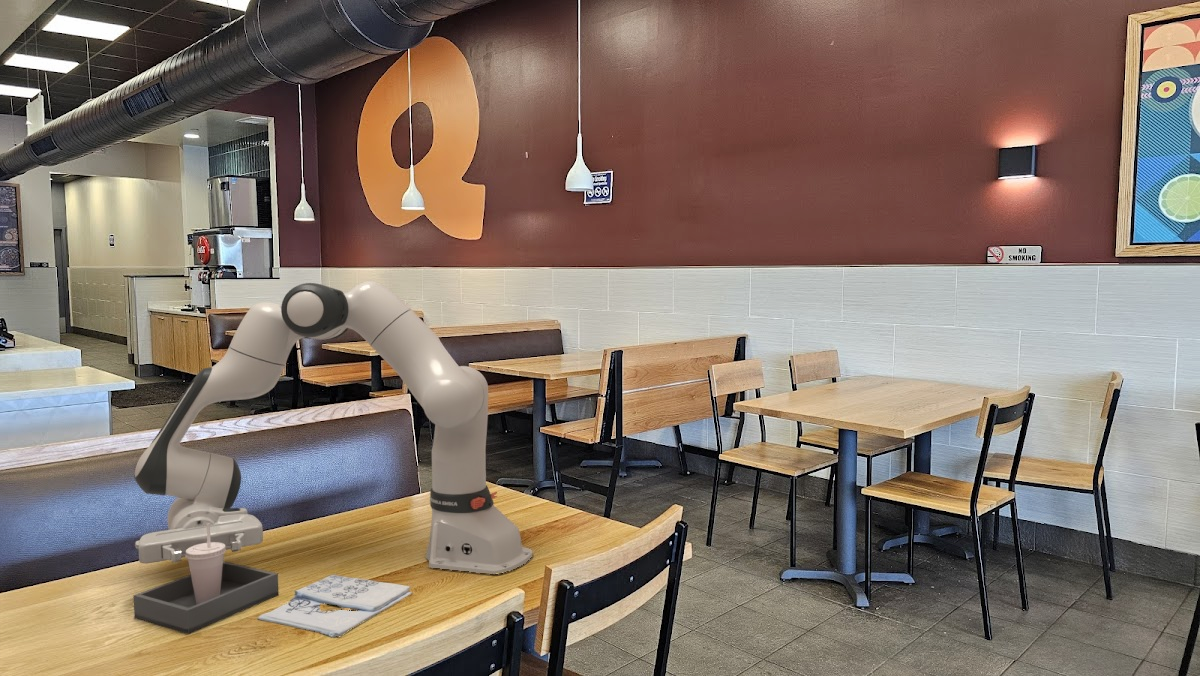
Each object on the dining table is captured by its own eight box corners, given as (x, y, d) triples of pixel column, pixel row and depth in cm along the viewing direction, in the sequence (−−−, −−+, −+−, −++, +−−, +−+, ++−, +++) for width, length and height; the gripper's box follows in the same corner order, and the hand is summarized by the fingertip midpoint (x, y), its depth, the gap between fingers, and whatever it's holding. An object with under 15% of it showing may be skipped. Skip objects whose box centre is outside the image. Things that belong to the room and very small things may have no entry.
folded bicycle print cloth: (414, 596, 144) (414, 585, 144) (336, 643, 126) (335, 630, 125) (334, 581, 152) (334, 570, 152) (249, 622, 133) (248, 610, 133)
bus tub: (278, 594, 144) (277, 573, 143) (188, 634, 128) (187, 610, 127) (226, 581, 150) (225, 561, 150) (134, 618, 134) (133, 595, 134)
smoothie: (220, 608, 136) (216, 528, 135) (181, 609, 135) (177, 530, 134) (233, 593, 142) (230, 517, 141) (196, 595, 142) (192, 519, 141)
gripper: (133, 524, 143) (137, 545, 131) (254, 506, 154) (267, 524, 142) (135, 558, 143) (139, 582, 132) (255, 537, 154) (269, 558, 143)
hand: (207, 552), depth 137 cm, fingers open, 8 cm apart
